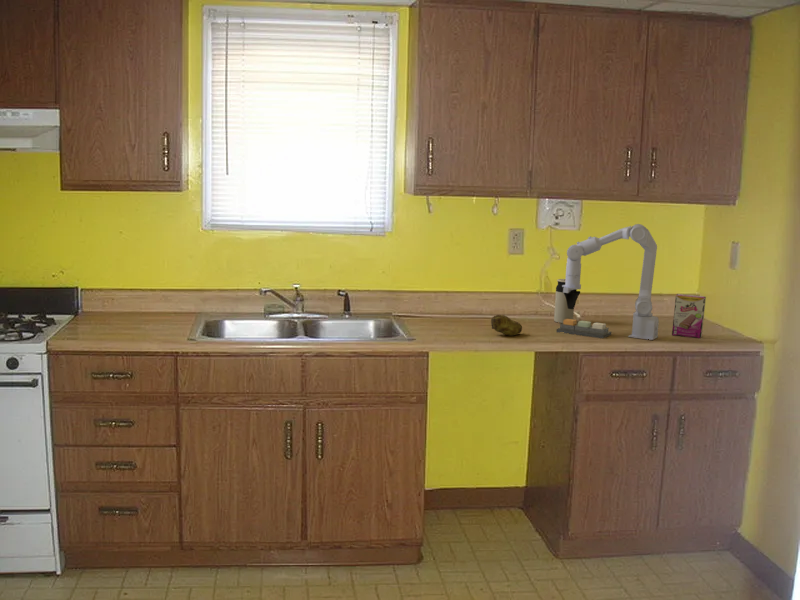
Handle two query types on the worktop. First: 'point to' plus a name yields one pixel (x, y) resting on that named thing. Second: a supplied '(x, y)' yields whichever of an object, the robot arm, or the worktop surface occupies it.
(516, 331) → the potato
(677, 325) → the candy bar box
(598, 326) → the button cream
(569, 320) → the button orange
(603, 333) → the panel
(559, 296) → the travel mug
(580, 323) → the button sage
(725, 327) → the worktop surface
